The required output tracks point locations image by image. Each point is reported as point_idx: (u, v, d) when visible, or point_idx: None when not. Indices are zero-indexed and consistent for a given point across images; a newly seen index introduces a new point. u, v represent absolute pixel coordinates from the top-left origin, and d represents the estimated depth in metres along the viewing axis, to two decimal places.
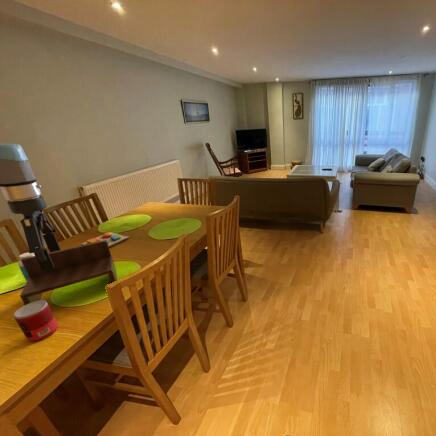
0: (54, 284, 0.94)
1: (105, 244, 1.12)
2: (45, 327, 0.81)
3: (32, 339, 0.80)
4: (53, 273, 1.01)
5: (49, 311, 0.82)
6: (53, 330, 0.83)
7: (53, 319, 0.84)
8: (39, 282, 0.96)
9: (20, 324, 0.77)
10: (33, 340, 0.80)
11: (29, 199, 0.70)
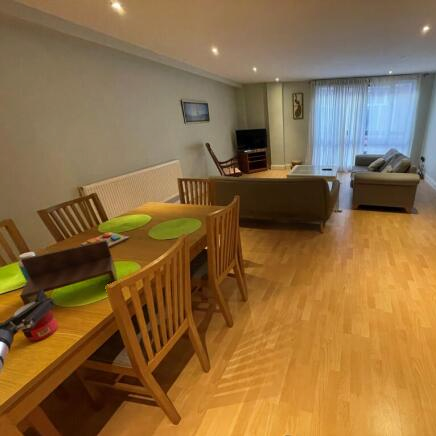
0: (54, 284, 0.94)
1: (105, 244, 1.12)
2: (45, 327, 0.81)
3: (32, 339, 0.80)
4: (53, 273, 1.01)
5: (49, 311, 0.82)
6: (53, 330, 0.83)
7: (53, 319, 0.84)
8: (39, 282, 0.96)
9: None
10: (33, 340, 0.80)
11: None
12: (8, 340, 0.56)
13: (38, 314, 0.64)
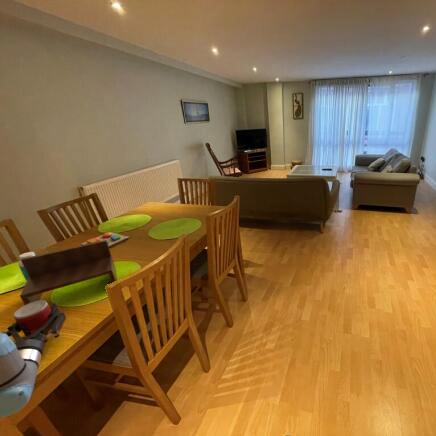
0: (54, 284, 0.94)
1: (105, 244, 1.12)
2: None
3: None
4: (53, 273, 1.01)
5: (49, 311, 0.82)
6: None
7: None
8: (39, 282, 0.96)
9: (20, 324, 0.77)
10: None
11: None
12: (41, 348, 0.70)
13: (59, 325, 0.79)
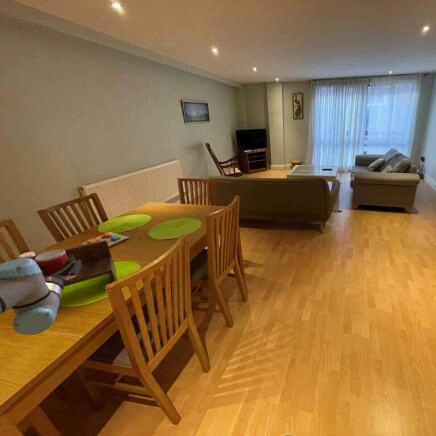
0: None
1: (105, 244, 1.12)
2: None
3: None
4: None
5: (67, 259, 0.88)
6: None
7: None
8: None
9: (40, 267, 0.82)
10: None
11: None
12: (61, 285, 0.76)
13: (76, 270, 0.84)
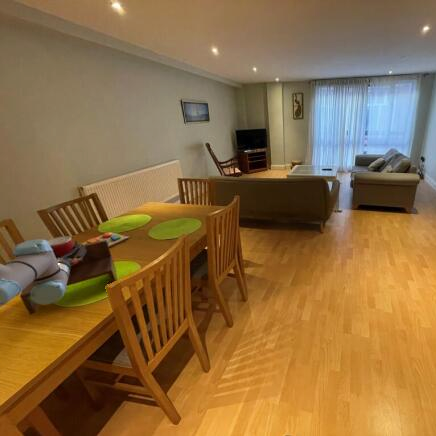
0: None
1: (105, 244, 1.12)
2: None
3: None
4: None
5: (73, 244, 0.99)
6: (76, 261, 0.99)
7: None
8: None
9: None
10: None
11: None
12: (69, 266, 0.87)
13: (81, 254, 0.95)
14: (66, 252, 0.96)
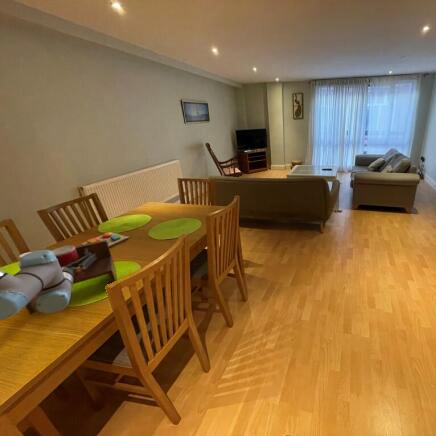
0: None
1: (105, 244, 1.12)
2: None
3: None
4: None
5: (76, 254, 1.01)
6: (79, 270, 1.02)
7: None
8: None
9: None
10: None
11: None
12: (72, 274, 0.88)
13: (87, 262, 0.96)
14: (70, 261, 0.98)
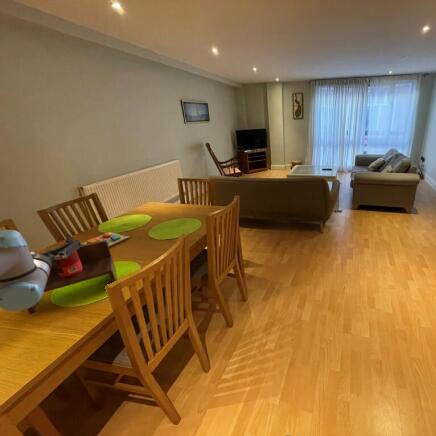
0: (54, 284, 0.94)
1: (105, 244, 1.12)
2: (73, 266, 0.99)
3: (63, 275, 0.98)
4: (53, 273, 1.01)
5: (76, 254, 1.01)
6: (79, 270, 1.02)
7: (79, 261, 1.02)
8: None
9: (54, 261, 0.95)
10: (64, 276, 0.98)
11: None
12: (49, 263, 0.72)
13: (69, 250, 0.80)
14: (70, 261, 0.98)
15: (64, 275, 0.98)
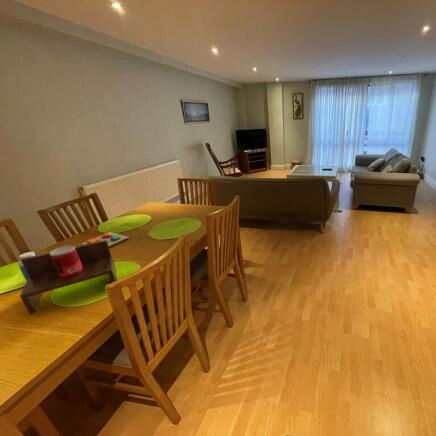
0: (54, 284, 0.94)
1: (105, 244, 1.12)
2: (73, 266, 0.99)
3: (63, 275, 0.98)
4: (53, 273, 1.01)
5: (76, 254, 1.01)
6: (79, 270, 1.02)
7: (79, 261, 1.02)
8: (39, 282, 0.96)
9: (54, 261, 0.95)
10: (64, 276, 0.98)
11: None
12: None
13: None
14: (70, 261, 0.98)
15: (64, 275, 0.98)
